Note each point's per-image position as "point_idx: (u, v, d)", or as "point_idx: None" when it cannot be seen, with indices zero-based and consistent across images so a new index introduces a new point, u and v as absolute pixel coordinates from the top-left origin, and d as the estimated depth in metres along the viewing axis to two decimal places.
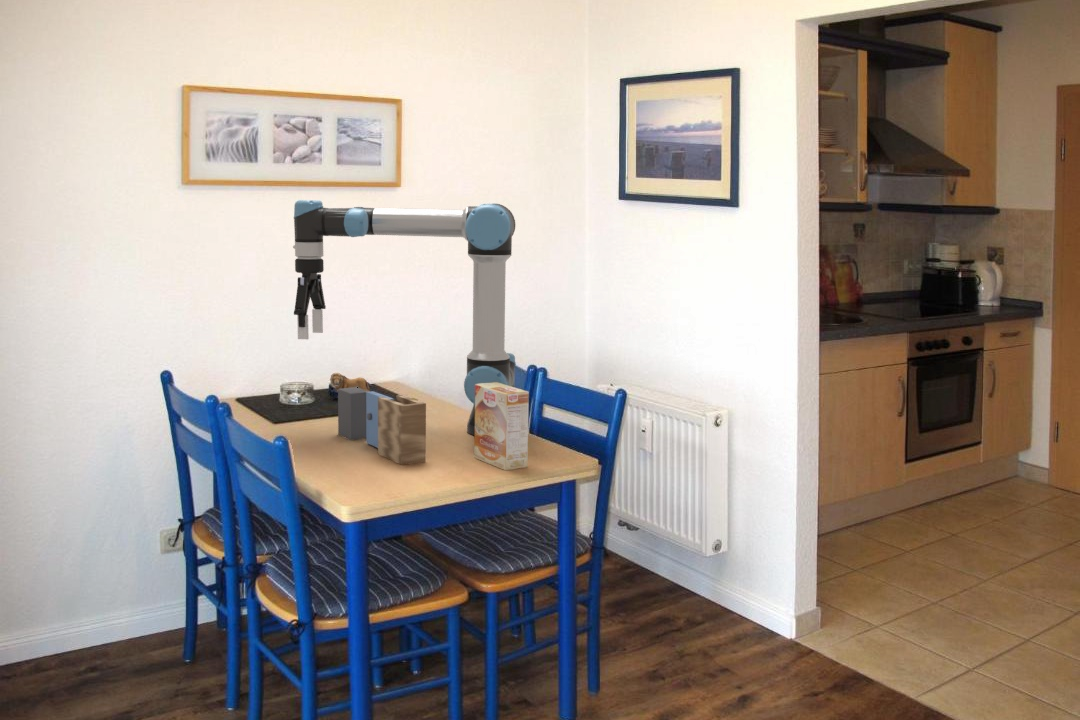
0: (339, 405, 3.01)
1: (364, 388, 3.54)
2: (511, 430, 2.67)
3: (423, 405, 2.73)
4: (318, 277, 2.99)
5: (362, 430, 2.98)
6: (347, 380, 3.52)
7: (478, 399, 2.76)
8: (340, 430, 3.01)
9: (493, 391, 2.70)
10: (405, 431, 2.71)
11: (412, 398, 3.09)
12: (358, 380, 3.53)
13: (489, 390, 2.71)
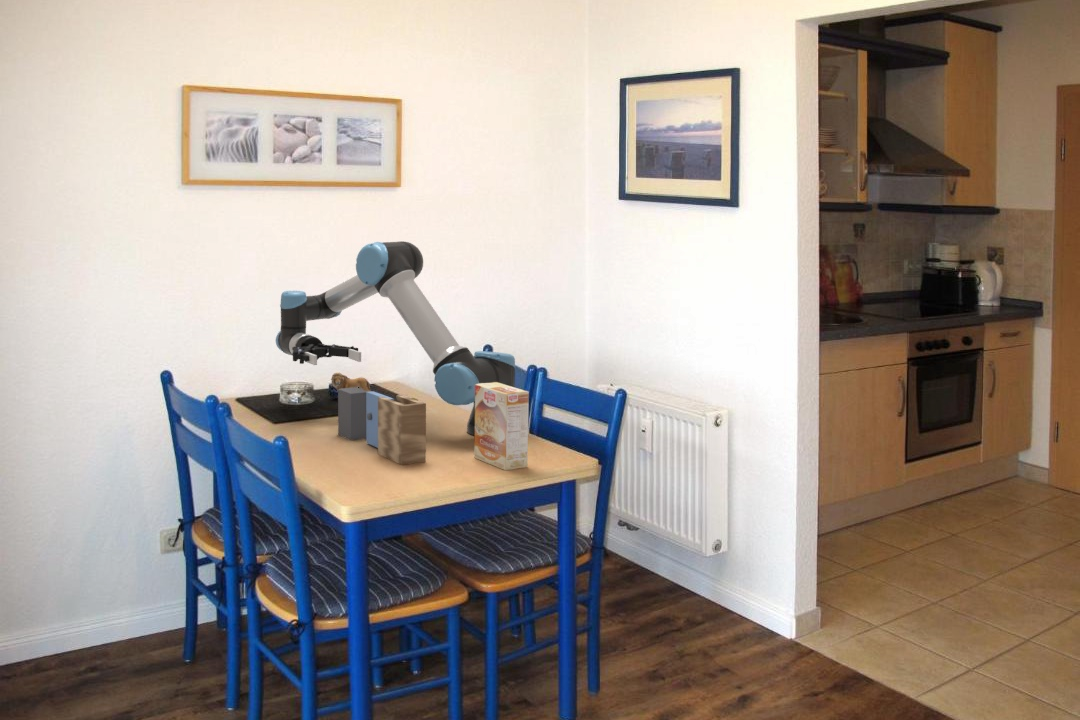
0: (339, 405, 3.01)
1: (365, 388, 3.54)
2: (511, 430, 2.67)
3: (423, 405, 2.73)
4: (332, 346, 3.21)
5: (362, 430, 2.98)
6: (348, 380, 3.52)
7: (478, 399, 2.76)
8: (340, 430, 3.01)
9: (493, 391, 2.70)
10: (405, 431, 2.71)
11: (412, 398, 3.09)
12: (359, 380, 3.53)
13: (489, 390, 2.71)
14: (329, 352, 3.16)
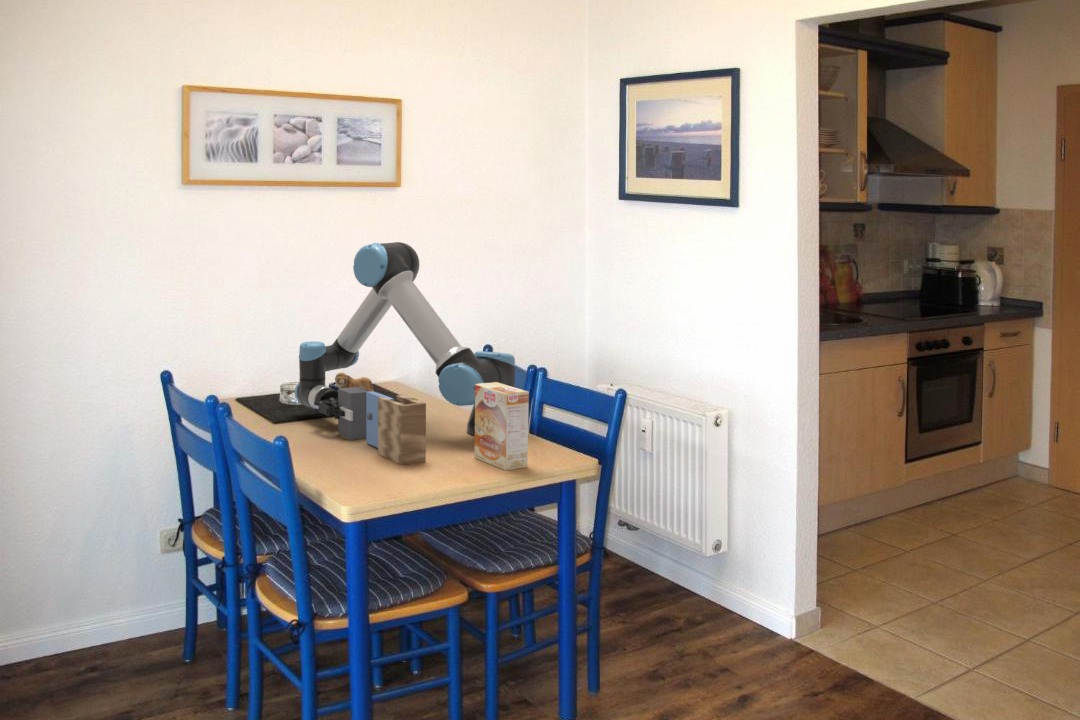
0: (339, 405, 3.01)
1: (368, 388, 3.54)
2: (511, 430, 2.67)
3: (423, 405, 2.73)
4: None
5: (362, 430, 2.98)
6: (352, 380, 3.52)
7: (478, 399, 2.76)
8: (340, 430, 3.01)
9: (493, 391, 2.70)
10: (405, 431, 2.71)
11: (412, 398, 3.09)
12: (362, 380, 3.54)
13: (489, 390, 2.71)
14: None
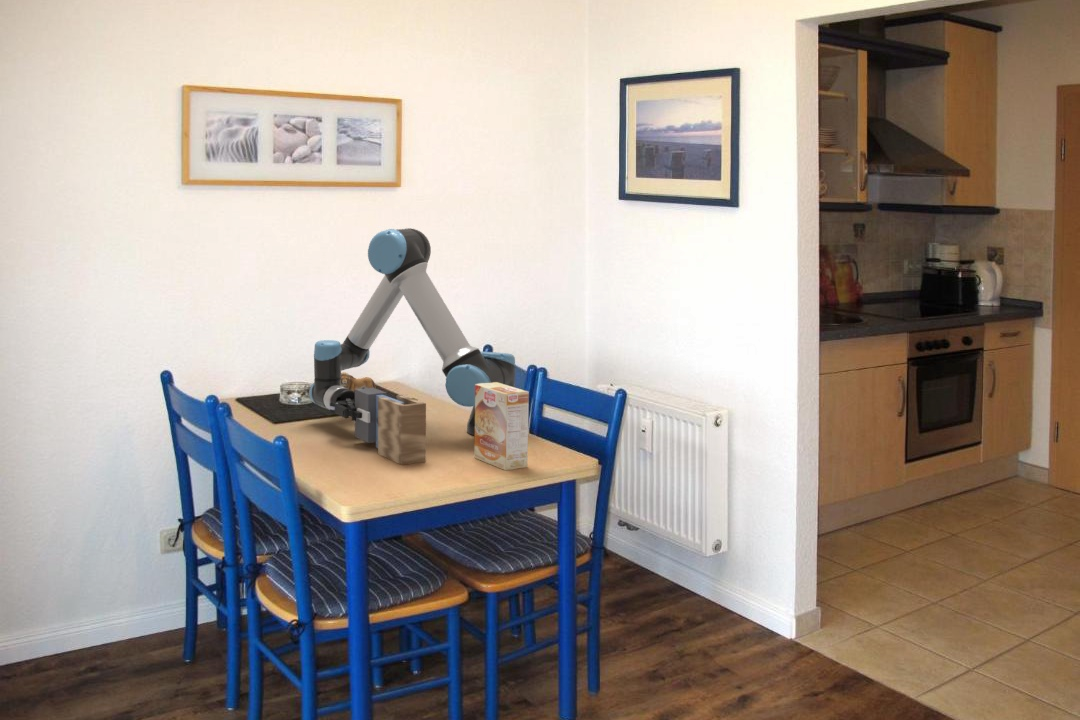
0: (356, 406, 2.91)
1: (371, 387, 3.55)
2: (511, 430, 2.67)
3: (423, 405, 2.73)
4: None
5: None
6: (354, 380, 3.53)
7: (478, 399, 2.76)
8: (357, 432, 2.91)
9: (493, 391, 2.70)
10: (405, 431, 2.71)
11: (412, 398, 3.09)
12: (365, 380, 3.54)
13: (489, 390, 2.71)
14: None
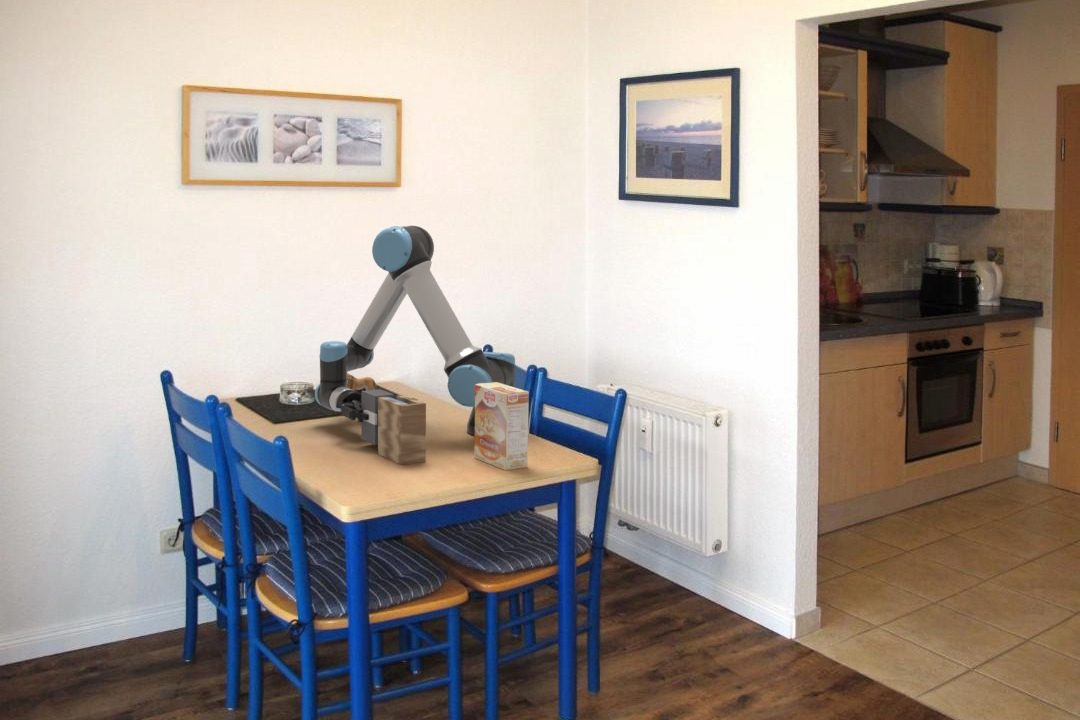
0: (362, 408, 2.88)
1: (372, 387, 3.55)
2: (511, 430, 2.67)
3: (423, 405, 2.73)
4: None
5: None
6: (355, 380, 3.53)
7: (478, 399, 2.76)
8: (363, 434, 2.89)
9: (493, 391, 2.70)
10: (405, 431, 2.71)
11: (412, 398, 3.09)
12: (366, 379, 3.54)
13: (489, 390, 2.71)
14: None
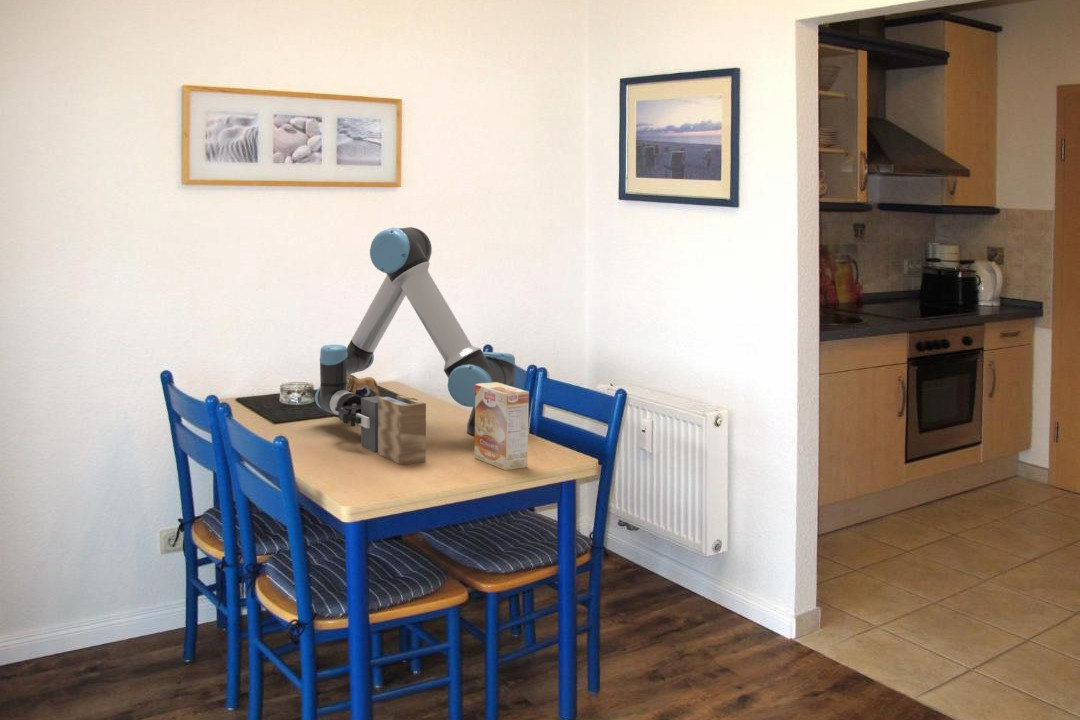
0: None
1: (373, 387, 3.55)
2: (511, 430, 2.67)
3: (423, 405, 2.73)
4: None
5: None
6: (356, 379, 3.53)
7: (479, 399, 2.76)
8: (363, 440, 2.90)
9: (493, 391, 2.70)
10: (405, 431, 2.71)
11: (412, 398, 3.09)
12: (367, 379, 3.55)
13: (489, 390, 2.71)
14: None
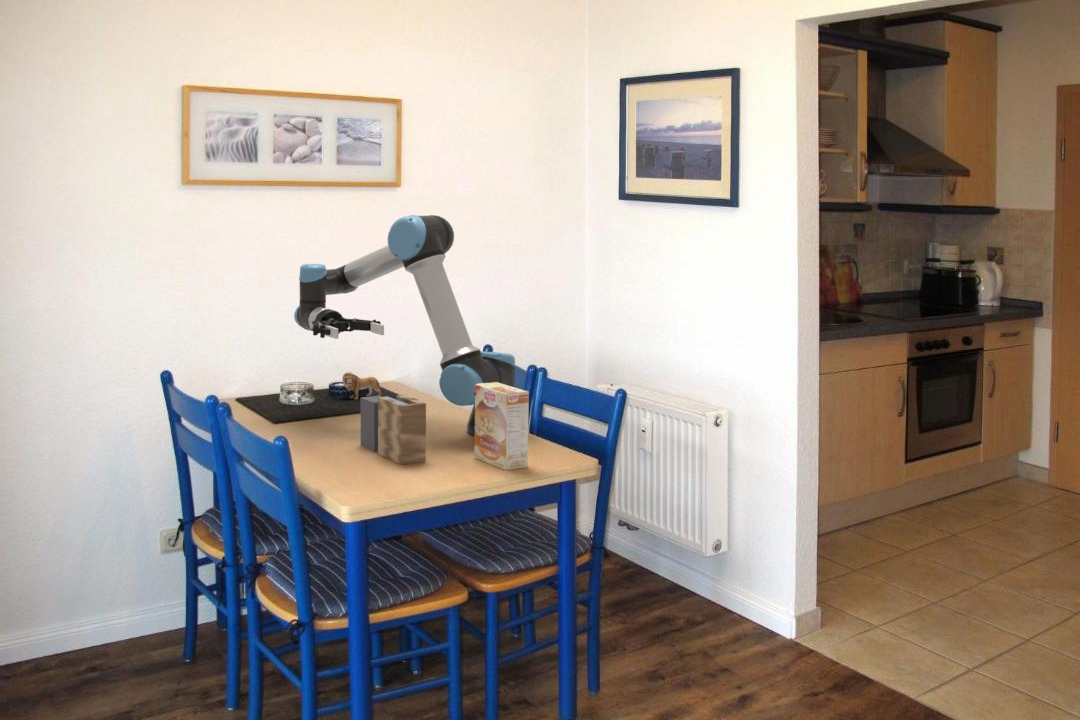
0: (361, 414, 2.89)
1: (375, 387, 3.56)
2: (511, 430, 2.67)
3: (423, 405, 2.73)
4: (353, 320, 3.09)
5: None
6: (359, 379, 3.54)
7: (478, 399, 2.76)
8: (362, 440, 2.90)
9: (493, 391, 2.70)
10: (405, 431, 2.71)
11: (412, 398, 3.09)
12: (369, 379, 3.55)
13: (489, 390, 2.71)
14: (350, 326, 3.04)
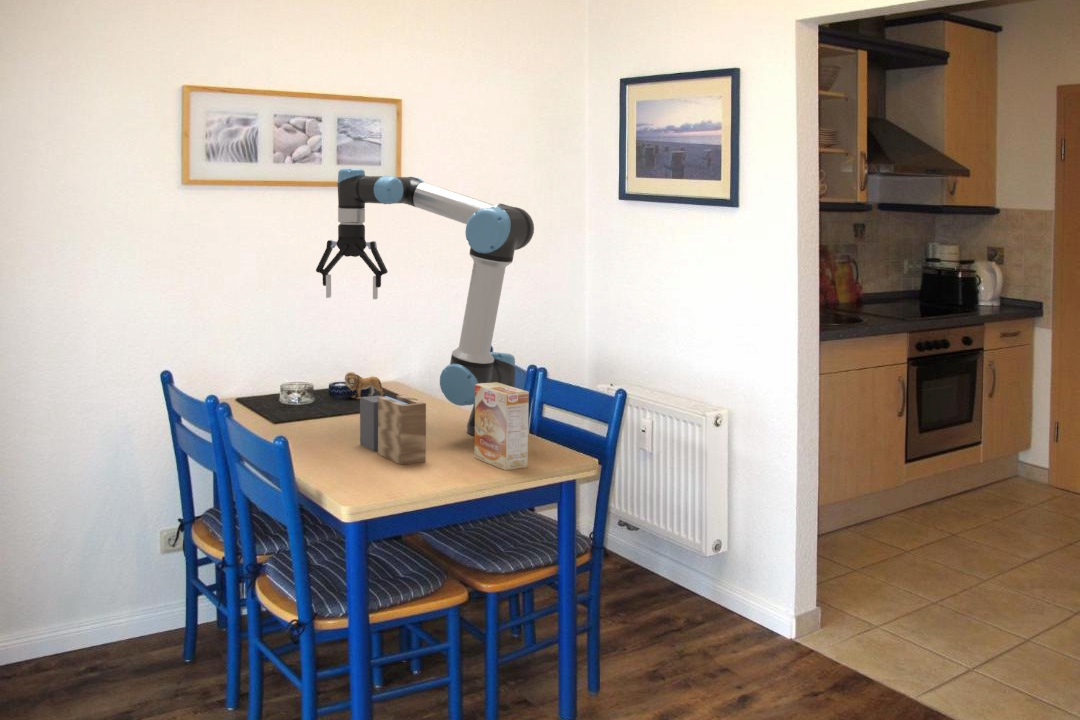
0: (361, 414, 2.89)
1: (378, 387, 3.56)
2: (511, 430, 2.67)
3: (423, 405, 2.73)
4: None
5: None
6: (361, 379, 3.54)
7: (478, 399, 2.76)
8: (362, 440, 2.90)
9: (493, 391, 2.70)
10: (405, 431, 2.71)
11: (412, 398, 3.09)
12: (372, 379, 3.55)
13: (489, 390, 2.71)
14: None
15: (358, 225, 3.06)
